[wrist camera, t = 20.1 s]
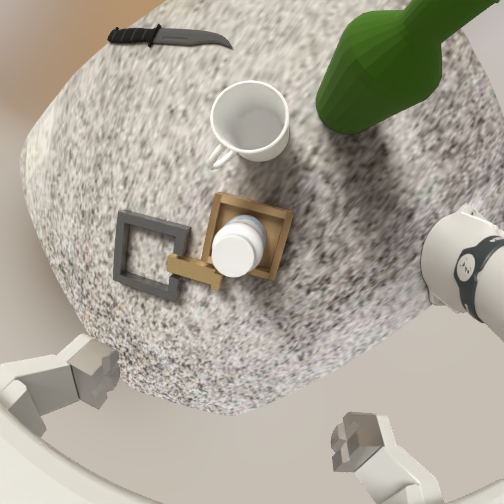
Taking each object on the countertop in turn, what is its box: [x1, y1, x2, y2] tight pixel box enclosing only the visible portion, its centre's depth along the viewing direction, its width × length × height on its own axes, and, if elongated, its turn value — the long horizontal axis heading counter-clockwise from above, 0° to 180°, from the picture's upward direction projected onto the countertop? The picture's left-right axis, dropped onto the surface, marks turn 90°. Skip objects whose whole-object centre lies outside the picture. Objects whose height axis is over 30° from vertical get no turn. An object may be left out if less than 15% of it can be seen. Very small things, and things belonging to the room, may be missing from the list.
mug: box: [207, 81, 289, 170], centre depth 31 cm, size 12×8×12 cm
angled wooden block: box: [167, 253, 224, 291], centre depth 41 cm, size 9×3×3 cm, turn 76°
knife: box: [108, 24, 232, 48], centre depth 32 cm, size 25×2×5 cm
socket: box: [113, 210, 191, 302], centre depth 42 cm, size 12×12×2 cm
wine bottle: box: [316, 0, 500, 134], centre depth 18 cm, size 9×9×32 cm
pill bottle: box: [212, 215, 267, 277], centre depth 34 cm, size 6×6×11 cm
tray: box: [201, 192, 294, 281], centre depth 39 cm, size 11×10×3 cm
